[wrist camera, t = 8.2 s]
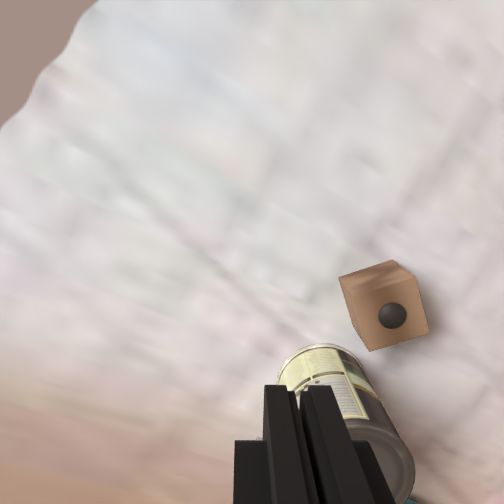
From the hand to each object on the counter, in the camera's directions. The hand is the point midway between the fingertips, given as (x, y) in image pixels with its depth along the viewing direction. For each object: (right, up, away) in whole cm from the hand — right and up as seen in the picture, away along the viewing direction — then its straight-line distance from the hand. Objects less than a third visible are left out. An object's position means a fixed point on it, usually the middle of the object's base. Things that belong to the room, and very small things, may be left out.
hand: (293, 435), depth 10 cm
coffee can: (+7, -10, +36) cm, 38 cm away
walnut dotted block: (+12, 0, +34) cm, 36 cm away
